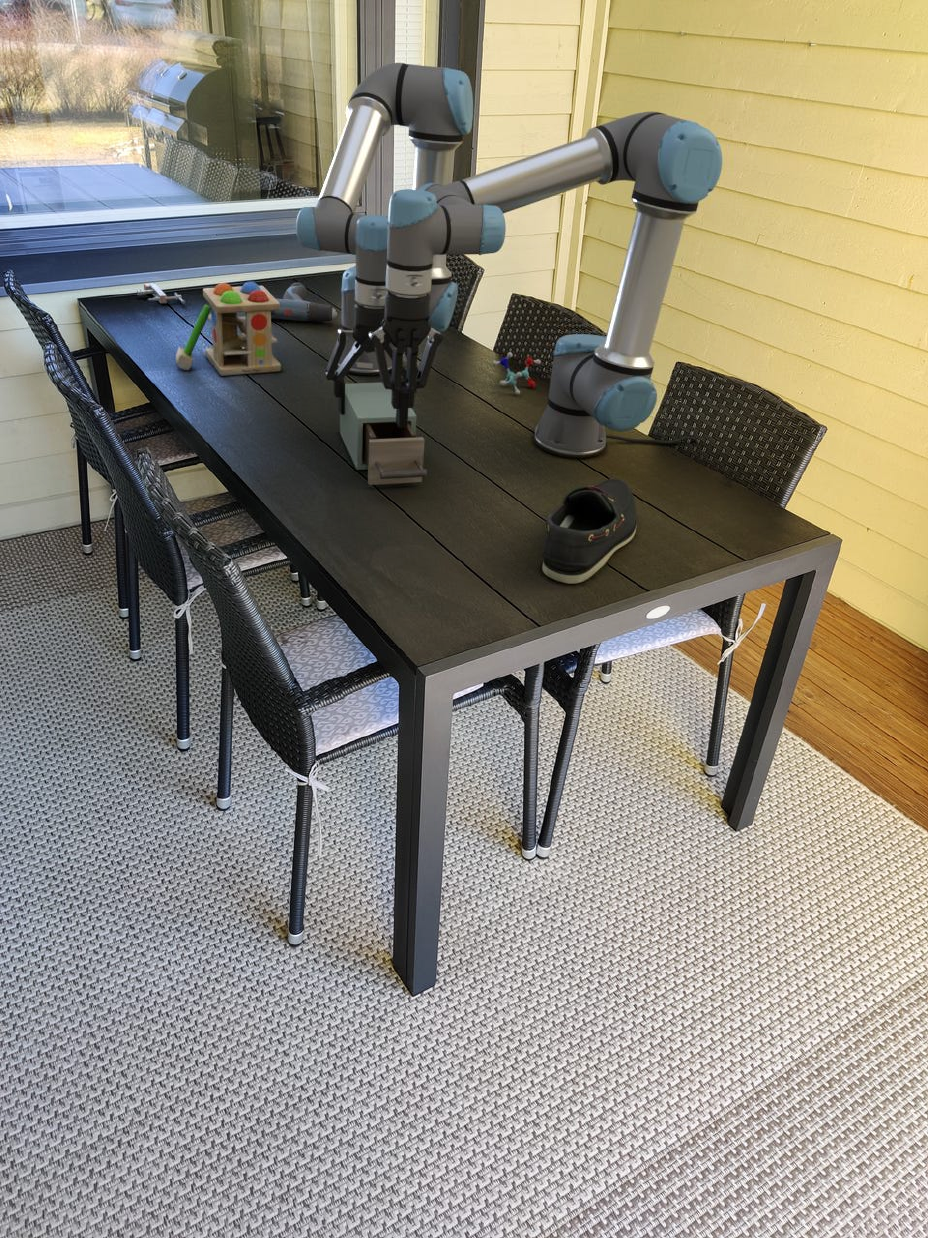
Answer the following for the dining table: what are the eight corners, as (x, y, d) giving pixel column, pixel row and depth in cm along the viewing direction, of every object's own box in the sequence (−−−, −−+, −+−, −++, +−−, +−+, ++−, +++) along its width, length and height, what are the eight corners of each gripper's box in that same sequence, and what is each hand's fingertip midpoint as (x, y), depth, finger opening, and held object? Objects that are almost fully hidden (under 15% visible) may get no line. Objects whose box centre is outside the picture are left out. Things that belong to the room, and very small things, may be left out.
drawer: (429, 496, 182) (432, 452, 177) (375, 499, 179) (377, 455, 174) (401, 446, 199) (403, 405, 194) (352, 448, 196) (352, 407, 191)
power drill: (344, 304, 276) (335, 327, 259) (277, 298, 275) (264, 321, 258) (344, 285, 273) (335, 306, 256) (277, 279, 272) (264, 300, 255)
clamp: (132, 284, 268) (169, 281, 272) (133, 292, 269) (170, 289, 273) (148, 300, 257) (185, 297, 262) (148, 309, 259) (186, 306, 263)
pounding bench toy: (183, 379, 220) (176, 299, 210) (169, 357, 231) (162, 280, 221) (282, 371, 230) (280, 294, 220) (264, 350, 240) (262, 276, 230)
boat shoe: (659, 521, 184) (668, 470, 179) (580, 590, 160) (587, 533, 155) (597, 502, 190) (604, 452, 184) (512, 566, 166) (517, 511, 160)
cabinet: (413, 467, 194) (416, 415, 188) (356, 470, 190) (357, 418, 184) (393, 430, 207) (395, 382, 201) (339, 433, 204) (340, 383, 198)
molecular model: (536, 387, 225) (523, 344, 224) (499, 400, 229) (485, 359, 227) (549, 385, 235) (536, 345, 234) (513, 399, 239) (500, 359, 238)
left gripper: (315, 309, 181) (315, 420, 193) (439, 308, 188) (432, 415, 200) (309, 297, 187) (309, 405, 199) (429, 297, 194) (422, 401, 206)
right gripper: (374, 298, 158) (370, 434, 171) (452, 298, 161) (441, 431, 175) (364, 284, 164) (361, 417, 177) (439, 285, 167) (431, 415, 180)
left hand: (371, 410), depth 200 cm, fingers closed on cabinet, 11 cm apart
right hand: (401, 424), depth 176 cm, fingers closed
